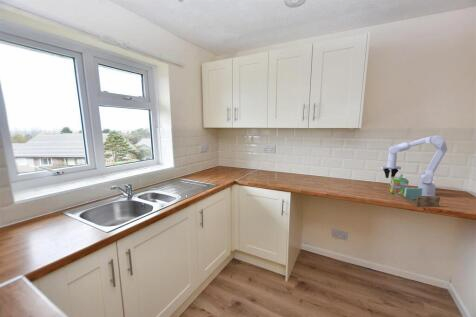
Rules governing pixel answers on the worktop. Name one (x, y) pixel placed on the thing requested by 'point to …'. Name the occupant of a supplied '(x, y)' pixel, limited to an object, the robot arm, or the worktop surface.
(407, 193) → the follower
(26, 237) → the worktop surface
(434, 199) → the lane
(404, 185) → the chalk box
